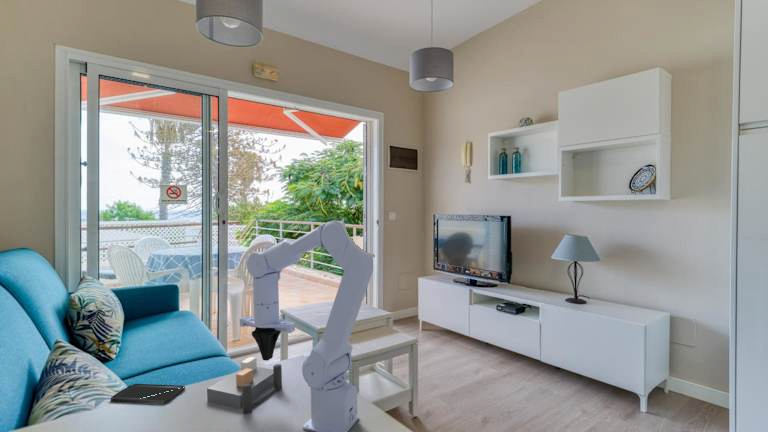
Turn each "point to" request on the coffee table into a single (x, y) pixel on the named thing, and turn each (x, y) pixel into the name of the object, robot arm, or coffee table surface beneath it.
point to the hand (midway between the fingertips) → (267, 358)
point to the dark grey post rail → (277, 387)
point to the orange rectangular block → (244, 377)
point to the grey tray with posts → (232, 394)
